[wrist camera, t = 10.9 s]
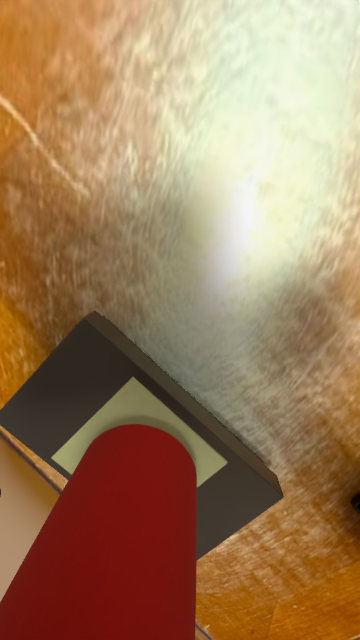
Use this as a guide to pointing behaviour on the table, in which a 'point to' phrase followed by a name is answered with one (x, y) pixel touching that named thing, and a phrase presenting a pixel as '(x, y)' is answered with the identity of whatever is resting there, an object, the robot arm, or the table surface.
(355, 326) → the table surface
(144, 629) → the beverage can
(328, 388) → the table surface
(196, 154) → the table surface
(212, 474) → the tray
